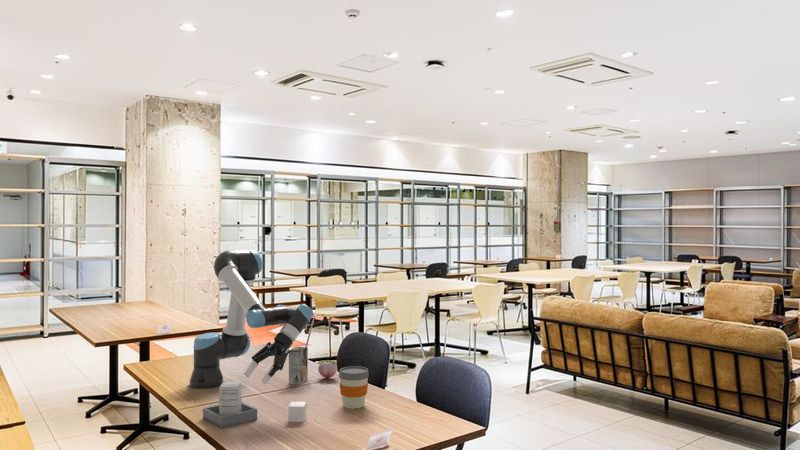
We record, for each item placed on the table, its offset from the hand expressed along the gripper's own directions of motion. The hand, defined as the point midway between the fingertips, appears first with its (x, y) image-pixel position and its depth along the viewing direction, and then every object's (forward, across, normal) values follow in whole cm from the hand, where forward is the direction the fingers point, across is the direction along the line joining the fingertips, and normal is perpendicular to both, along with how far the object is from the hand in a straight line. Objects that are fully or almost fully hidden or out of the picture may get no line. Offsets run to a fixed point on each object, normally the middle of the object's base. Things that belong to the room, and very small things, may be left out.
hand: (254, 379), depth 230 cm
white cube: (+4, -18, -16) cm, 24 cm away
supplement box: (+16, 0, -2) cm, 17 cm away
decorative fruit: (-28, +21, -48) cm, 59 cm away
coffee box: (-18, +26, -38) cm, 49 cm away
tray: (+17, 0, -2) cm, 17 cm away
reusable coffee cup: (-15, -20, -35) cm, 43 cm away
